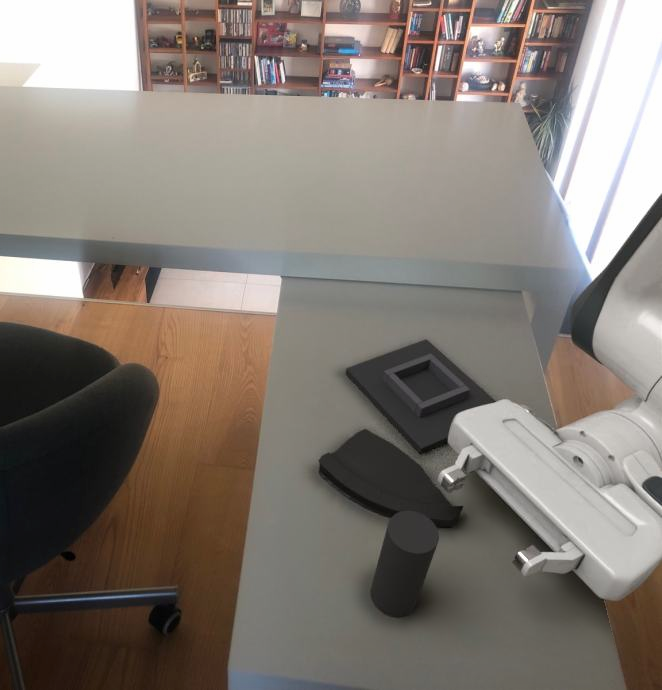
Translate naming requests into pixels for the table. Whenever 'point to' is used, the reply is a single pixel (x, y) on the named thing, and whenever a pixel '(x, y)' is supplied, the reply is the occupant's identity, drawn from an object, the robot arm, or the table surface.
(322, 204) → the table surface
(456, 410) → the base pad
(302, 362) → the table surface
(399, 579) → the dark cylindrical post
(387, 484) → the dark sector wedge
